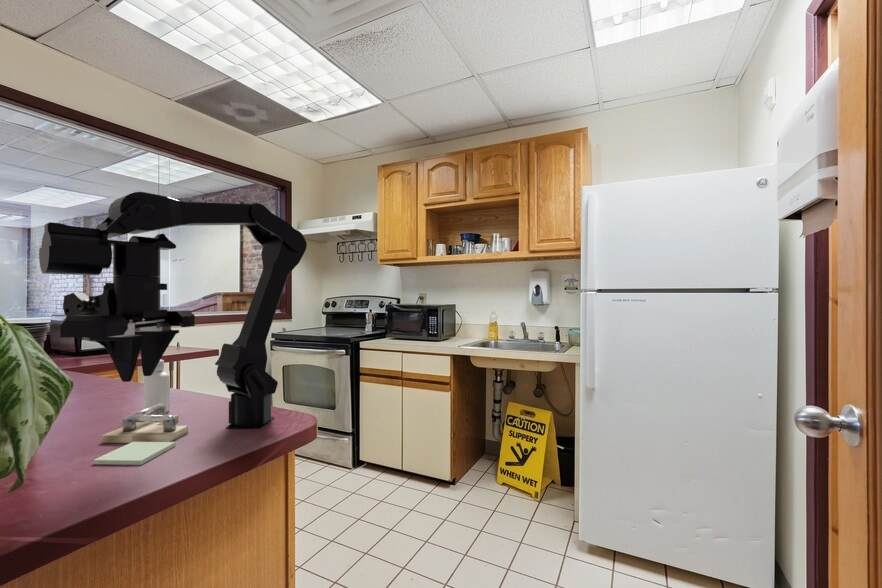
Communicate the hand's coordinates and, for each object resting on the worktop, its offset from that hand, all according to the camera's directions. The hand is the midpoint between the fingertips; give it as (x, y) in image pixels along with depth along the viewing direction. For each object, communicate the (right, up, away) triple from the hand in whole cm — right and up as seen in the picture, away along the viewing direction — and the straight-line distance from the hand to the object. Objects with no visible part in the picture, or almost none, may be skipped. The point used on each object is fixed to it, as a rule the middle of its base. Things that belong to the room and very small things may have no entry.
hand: (137, 378), depth 59 cm
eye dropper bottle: (-13, -12, +22) cm, 28 cm away
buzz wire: (-3, -12, +10) cm, 16 cm away
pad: (0, -12, 0) cm, 12 cm away
